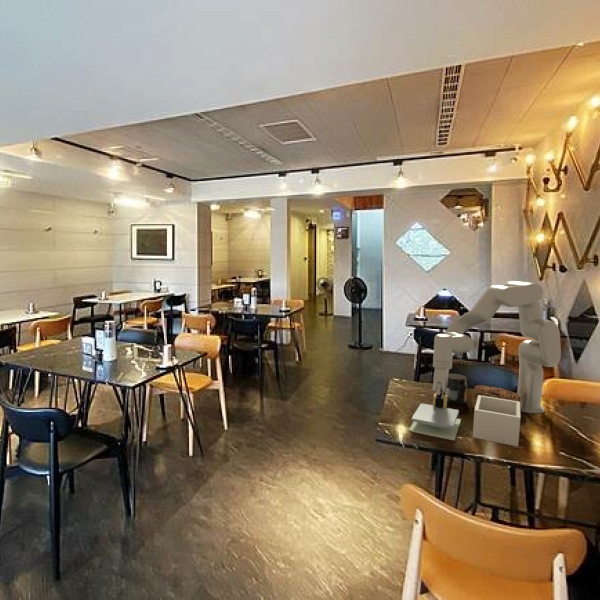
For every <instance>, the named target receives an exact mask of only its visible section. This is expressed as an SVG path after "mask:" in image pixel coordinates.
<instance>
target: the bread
mask: <svg viewBox="0 0 600 600" xmlns="http://www.w3.org/2000/svg"><path fill="white" fill-rule="evenodd" d="M478 395H481V396H487V397H493V398H500V399H506V400H512V401H519V402H520V396H519V395H518V394H517V392H513V391H511V390H507V389H505V388H502V387H501V388H499V387H497V386H495V387H494V386H486V385H483V384H478V385H475V386H474V388H472V393H471V401H470V402H471V407H472V408H474V409H475V406H476V402H477V398H478Z"/></svg>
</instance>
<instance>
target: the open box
mask: <svg viewBox="0 0 600 600" xmlns="http://www.w3.org/2000/svg"><path fill="white" fill-rule="evenodd" d="M520 427H521V411H520V402H519V401H512V400H506V399H500V398H493V397H487V396H481V395H478V398H477V402H476V406H475V408H474V412H473V427H472V438H473V439H480V440H484V441H489V442H494V443H499V444H503V445H509V446H513V447H519V442H520V430H521V429H520Z"/></svg>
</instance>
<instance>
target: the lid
mask: <svg viewBox="0 0 600 600" xmlns="http://www.w3.org/2000/svg"><path fill="white" fill-rule="evenodd" d="M441 396H442V394H441ZM435 398H436V392H435V393H434V394H433V401H432V404H427V403H423V402H422V403H420V404H419V406H418V407H417V409H416V410H415V412H414V413H413V415H412V417H411V420H410V421H411V422H412V423H413V422H417V423H421V424H425V425H430V426H435V427H440V428H445V429H453V427H454V425H455V422H456V419H458V416H459V412H460V410H459V409H453V408H449V407H447V406H448V402H447V395H443V399H444V401H443V408H439V407H435Z"/></svg>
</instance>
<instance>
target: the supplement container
mask: <svg viewBox="0 0 600 600" xmlns="http://www.w3.org/2000/svg"><path fill="white" fill-rule="evenodd" d="M467 388H468V384H467V377H466V376H465V375H463V374H460V373H459V374H458V373H449V374H448V385H447V388H446V390H445V395H447V404H448V403H449V404H454V405H462V404H465V403H466V402H467V390H468V389H467Z"/></svg>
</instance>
